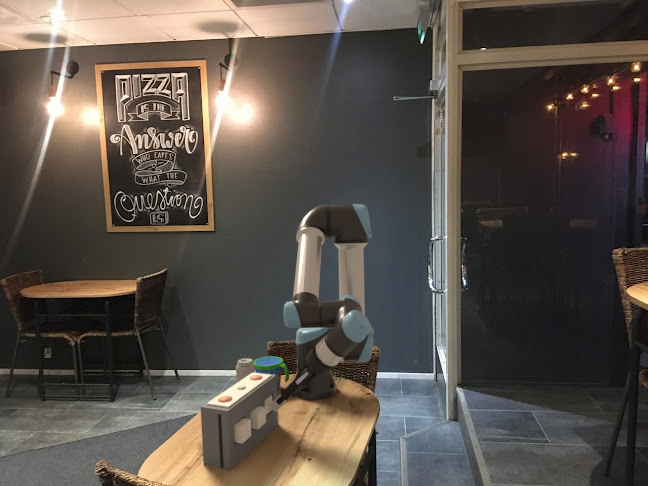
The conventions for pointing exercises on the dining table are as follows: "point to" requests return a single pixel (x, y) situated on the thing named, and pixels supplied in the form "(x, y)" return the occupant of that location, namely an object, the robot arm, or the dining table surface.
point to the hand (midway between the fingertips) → (273, 407)
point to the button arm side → (267, 402)
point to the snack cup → (272, 367)
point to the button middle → (258, 417)
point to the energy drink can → (244, 368)
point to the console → (221, 426)
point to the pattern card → (239, 390)
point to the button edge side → (242, 430)
